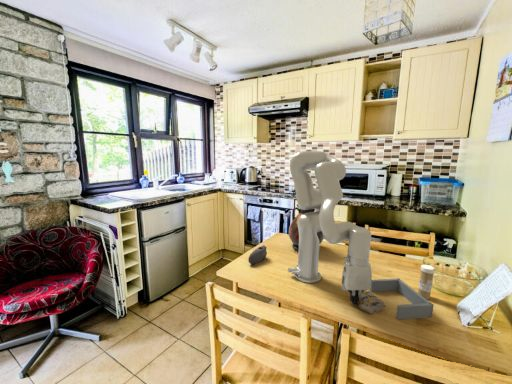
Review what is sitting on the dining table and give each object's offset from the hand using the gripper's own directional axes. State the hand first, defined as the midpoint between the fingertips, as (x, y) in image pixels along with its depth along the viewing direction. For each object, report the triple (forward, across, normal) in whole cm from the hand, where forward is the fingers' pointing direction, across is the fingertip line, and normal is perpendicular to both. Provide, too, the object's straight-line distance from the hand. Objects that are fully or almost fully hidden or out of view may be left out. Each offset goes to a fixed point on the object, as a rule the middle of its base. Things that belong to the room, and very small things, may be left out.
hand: (354, 303), depth 94 cm
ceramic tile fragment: (+2, +7, 0) cm, 7 cm away
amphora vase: (+1, -3, +56) cm, 56 cm away
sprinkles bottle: (+1, +32, +4) cm, 33 cm away
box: (+1, +18, 0) cm, 18 cm away
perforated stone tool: (+1, -34, +41) cm, 54 cm away
